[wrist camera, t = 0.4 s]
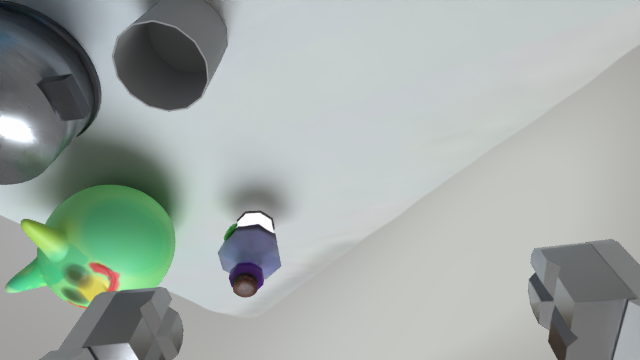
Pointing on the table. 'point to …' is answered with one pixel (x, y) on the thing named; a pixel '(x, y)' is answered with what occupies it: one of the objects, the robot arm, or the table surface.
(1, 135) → the cooker pot
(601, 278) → the robot arm
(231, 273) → the potion bottle
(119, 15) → the table surface
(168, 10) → the cup
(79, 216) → the toy bird
